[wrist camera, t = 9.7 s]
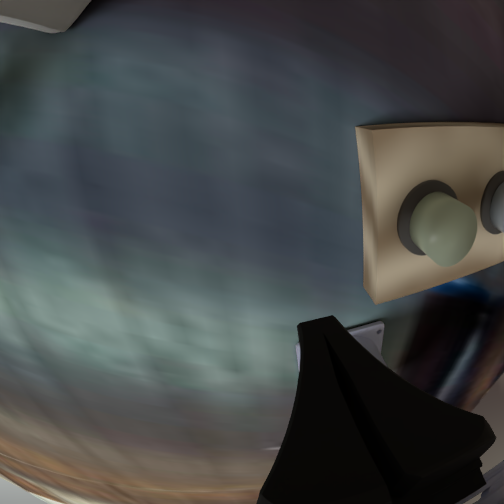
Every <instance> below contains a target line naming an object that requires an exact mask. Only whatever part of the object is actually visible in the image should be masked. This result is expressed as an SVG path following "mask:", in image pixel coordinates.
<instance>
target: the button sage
mask: <svg viewBox="0 0 504 504" xmlns="http://www.w3.org/2000/svg"><path fill="white" fill-rule="evenodd" d="M476 234H477V218H476V215H475V213H474V211H473V210H472V209H471V208H470V207H469V206H467V205H465V204H463V203H462V202H460V201H458V200H456V199H455V198H453V197H451V196H449V195H447V194H445V193H443V192H433V193H430V194H428V195H426V196H425V197H424V198H423V199H422V200H421V201H420V202H419V203H418V204H417V206H416V207H415V209H414V211H413V214H412V216H411V220H410V236H411V239H412V241H413V242H414V244H415V245H416V246H417V247H419V248H420V249H421V250H422V251H423V252H424V253H425V254H426V255H427V256H429V257H430V258H431V259H432V260H433V261H434V262H435V263H436V264H437V265H439V266H442V267H449V266H453V265H455V264H457V263H458V262H460V261H461V260H462V259H463V258H464V257H465V256H466V255H467V254H468V252H469V251H470V249H471V247H472V246H473V243H474V241H475V238H476Z"/></svg>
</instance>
